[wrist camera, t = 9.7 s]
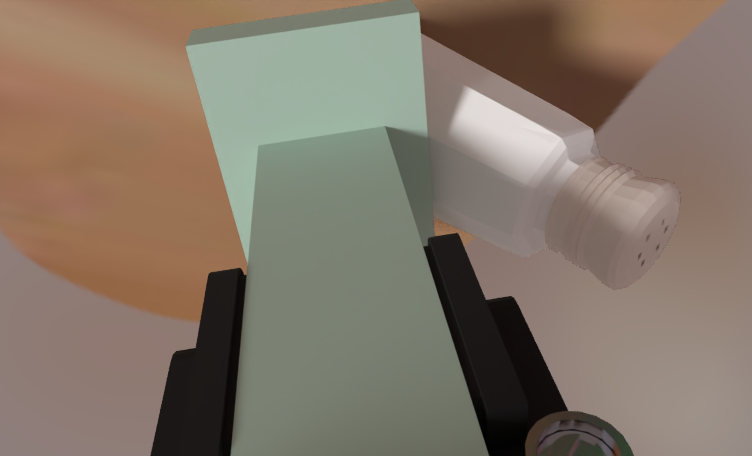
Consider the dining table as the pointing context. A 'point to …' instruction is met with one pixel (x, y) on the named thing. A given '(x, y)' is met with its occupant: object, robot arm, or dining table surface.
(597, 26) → the dining table surface
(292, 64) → the mint t-shaped block
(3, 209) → the dining table surface
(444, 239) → the robot arm
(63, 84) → the dining table surface
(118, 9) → the dining table surface
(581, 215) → the pepper shaker
